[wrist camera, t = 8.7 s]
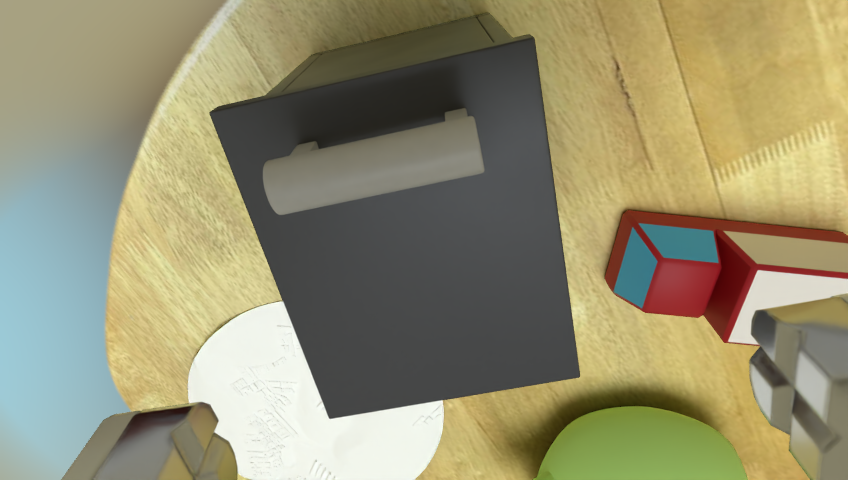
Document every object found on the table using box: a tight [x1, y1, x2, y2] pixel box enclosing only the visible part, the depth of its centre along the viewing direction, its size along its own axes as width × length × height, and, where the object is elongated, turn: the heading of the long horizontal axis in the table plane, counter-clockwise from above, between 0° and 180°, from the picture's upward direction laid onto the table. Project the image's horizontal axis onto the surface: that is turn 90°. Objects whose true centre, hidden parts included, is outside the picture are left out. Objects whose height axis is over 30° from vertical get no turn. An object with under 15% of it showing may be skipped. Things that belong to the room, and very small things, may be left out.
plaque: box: [188, 301, 444, 480], centre depth 46 cm, size 20×20×2 cm
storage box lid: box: [210, 34, 580, 419], centre depth 20 cm, size 13×11×5 cm
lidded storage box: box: [265, 13, 512, 96], centre depth 29 cm, size 13×11×16 cm
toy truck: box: [605, 210, 848, 346], centre depth 37 cm, size 6×15×7 cm, turn 84°
